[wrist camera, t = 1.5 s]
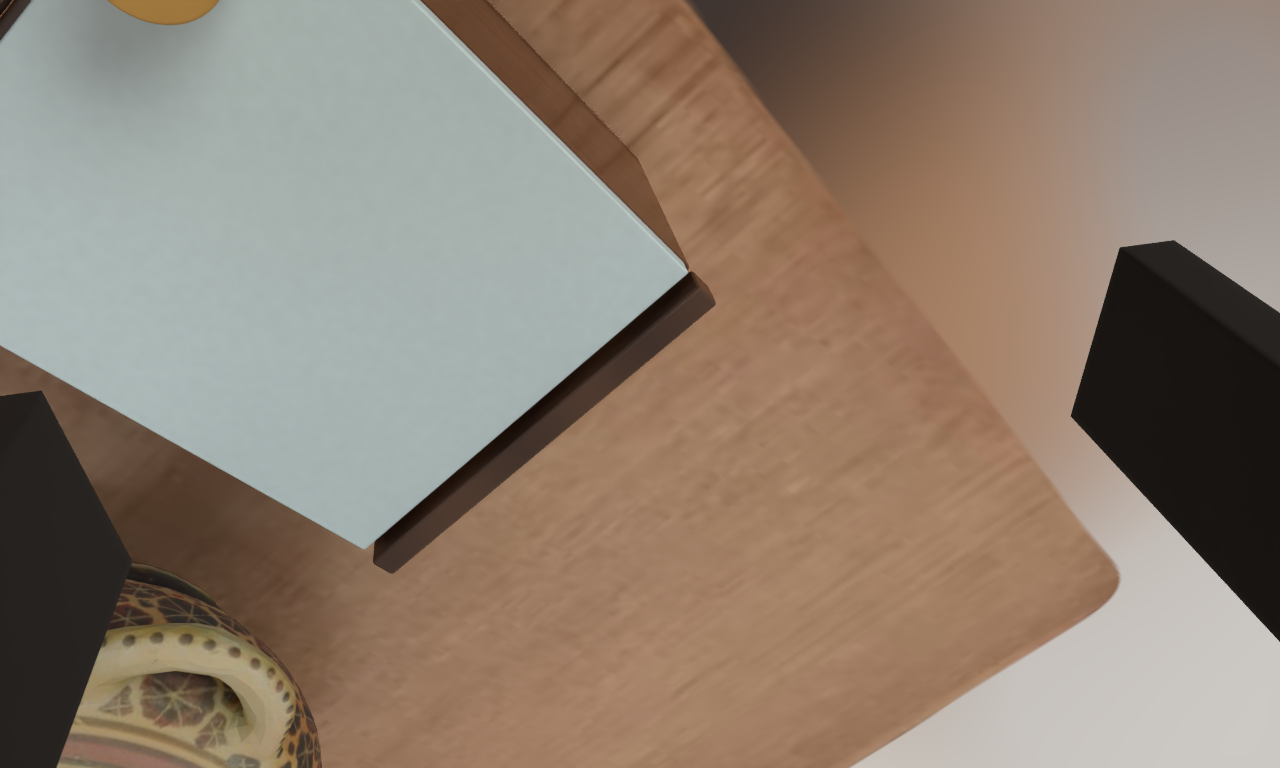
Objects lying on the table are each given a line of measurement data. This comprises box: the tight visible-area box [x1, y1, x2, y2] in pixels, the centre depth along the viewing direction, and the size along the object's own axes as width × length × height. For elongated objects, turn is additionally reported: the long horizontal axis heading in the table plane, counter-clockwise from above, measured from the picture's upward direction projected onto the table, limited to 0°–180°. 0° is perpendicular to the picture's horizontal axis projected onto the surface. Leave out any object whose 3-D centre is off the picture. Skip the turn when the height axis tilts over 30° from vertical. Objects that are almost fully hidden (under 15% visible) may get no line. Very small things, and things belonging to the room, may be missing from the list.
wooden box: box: [0, 0, 716, 574], centre depth 25 cm, size 13×17×9 cm
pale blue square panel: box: [0, 0, 688, 549], centre depth 21 cm, size 13×14×4 cm
